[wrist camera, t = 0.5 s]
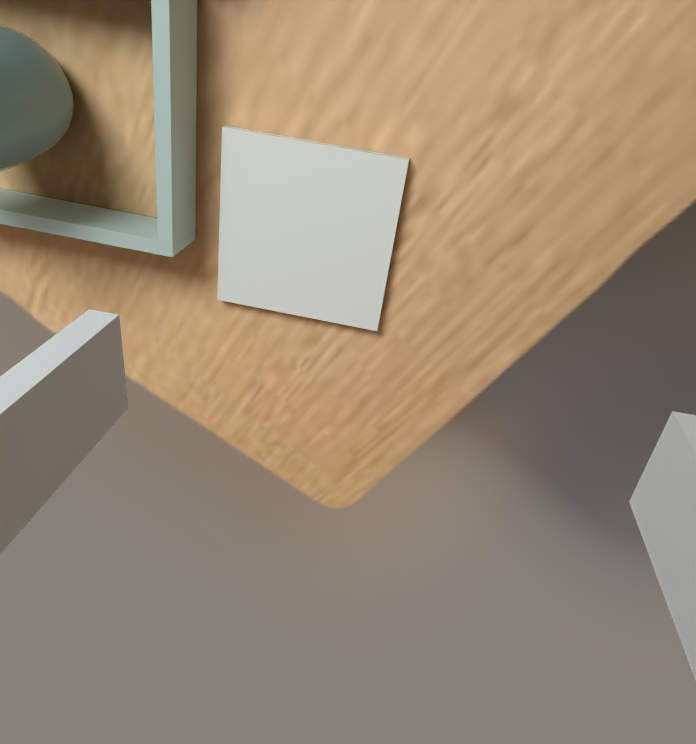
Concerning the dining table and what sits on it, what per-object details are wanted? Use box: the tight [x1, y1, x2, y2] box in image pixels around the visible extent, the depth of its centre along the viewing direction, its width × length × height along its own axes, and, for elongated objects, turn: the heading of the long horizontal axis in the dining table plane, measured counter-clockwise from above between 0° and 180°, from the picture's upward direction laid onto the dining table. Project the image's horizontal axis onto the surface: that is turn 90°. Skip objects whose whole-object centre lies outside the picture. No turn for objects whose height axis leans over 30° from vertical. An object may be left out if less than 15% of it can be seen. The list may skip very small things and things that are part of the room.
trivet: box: [217, 125, 410, 331], centre depth 40 cm, size 12×12×1 cm
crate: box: [0, 0, 197, 257], centre depth 37 cm, size 16×22×4 cm
